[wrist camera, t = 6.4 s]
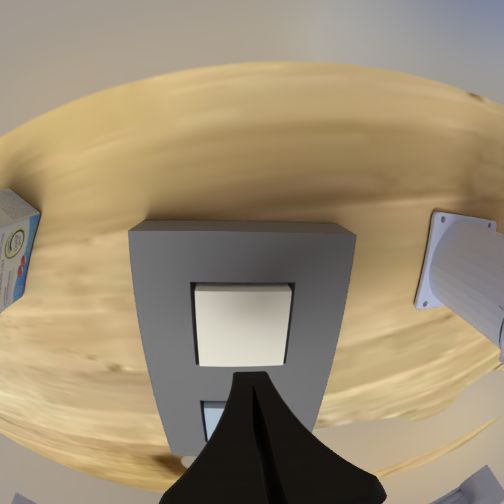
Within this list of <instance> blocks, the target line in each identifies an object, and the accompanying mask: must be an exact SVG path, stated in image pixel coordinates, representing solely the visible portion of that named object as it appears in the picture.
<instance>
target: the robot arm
mask: <svg viewBox="0 0 504 504" xmlns="http://www.w3.org/2000/svg"><path fill="white" fill-rule="evenodd" d="M441 218H442V221H441ZM496 228H497V223H496V221H493V220H488V219H482V218H476V217H470V216H464V215H458V214H451V213H444V212H434V214H433V215H432V221H431V227H430V234H429V240H428V246H427V251H426V256H425V261H424V266H423V271H422V275H421V279H420V284H419V288H418V292H417V296H416V299H415V303H414V306H415V308H417V309H418V310H420V309H428V308H435V307H442V306H447V307H448V308H449V309H451V310H452V311H453V312H455V313H456V314H457V315H459V316H460V317H461V318H463V319H464V320H465V321H466V322H468V323H469V324H470V325H471V326H473V327H474V328H475V329H476V330H478V331H479V332H480V333H481V334H483V335H484V336H485V337H486V338H488V339H489V340H490V341H491V342H492V343H494V344H495V345H496V346H497V347H498V348H500V349H501V354H500V357H499V361H500V362H502V363H503V364H504V234H502V233H499V232H496ZM424 302H425V303H424ZM423 303H424V304H423ZM386 497H387V495H386V493H385V490H384V488H383V486H382V485H381V483H380V482H379V480H378V478H377V477H376V476H374V475H372V474H370V473H368V472H366V471H364V470H362V469H360V468H358V467H356V466H355V465H353V464H351V463H350V462H347V461H346V460H345V459H343V458H342V457H340V456H339V455H337V454H336V453H335V452H333V451H332V450H330V449H329V448H328V447H327V446H325V445H324V444H323V443H322V442H321V441H319V440H318V439H317V438H316V437H315V436H314V435H313V434H312V433H311V432H310V431H309V430H308V429H307V428H306V427H305V426H304V425H303V424H302V423H301V422H300V421H299V419H298V418H297V417H296V416H295V415H294V414H293V412H292V411H291V410H290V408H289V407H288V406H287V404H286V403H285V402H284V400H283V399H282V397H281V396H280V394H279V393H278V391H277V389H276V388H275V386H274V384H273V383H272V381H271V379H270V377H269V375H268V373H267V372H266V371H252V372H235V373H233V380H232V386H231V390H230V394H229V397H228V400H227V403H226V405H225V408H224V411H223V413H222V415H221V417H220V420H219V422H218V424H217V426H216V428H215V430H214V432H213V433H212V435H211V437H210V439H209V440H208V442H207V444H206V445H205V447H204V448H203V450H202V451H201V453H200V454H199V455H198V457H197V458H196V460H195V461H194V462H193V463H192V465H191V466H190V467H189V468H188V469H187V471H186V472H185V473H184V474H183V475H182V476H181V477H180V478H179V480H177V481H176V482H175V483H174V484H173V485H172V486H171V487H170V488H169V489H168V490H167V491H166V492H165V493H164V494H163V496H162V498H161V500H160V502H159V504H382V503H383V502H384V501H385V499H386ZM503 501H504V490H503V488H502V487H501V485H500V483H499V482H498V480H497V479H496V477H495V476H494V474H493V473H492V471H491V470H490V468H489V467H488V465H485V466H484V467H483V468H481V469H480V470H479V471H477V472H476V473H474V474H473V475H472V476H470V477H469V478H468V479H466V480H465V481H464V482H463V483H462V484H461V485H460V486H459V487H458V488H456V489H455V490H453V491H451V492H449V493H448V494H446V495H444V496H443V497H441V498H439V499H437V500H435V501H434V502H432V503H430V504H501V503H502V502H503ZM12 504H36V503H35V502H33V501H31V500H29V499H27V498H25V497H24V496H22V495H20V494H18V493H16V494H15V496H14V499H13V502H12Z"/></svg>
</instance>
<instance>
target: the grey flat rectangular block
mask: <svg viewBox="0 0 504 504" xmlns="http://www.w3.org/2000/svg"><path fill="white" fill-rule="evenodd" d="M128 238H129V251H130V262H131V271H132V280H133V288H134V296H135V303H136V309H137V316H138V322H139V328H140V333H141V339H142V344H143V349H144V354H145V359H146V363H147V368H148V372H149V376H150V381H151V385H152V389H153V392H154V396H155V400H156V404H157V407H158V411H159V414H160V418H161V421H162V424H163V428H164V431H165V434H166V437H167V440H168V443H169V446H170V449H171V452H172V455H182V456H198V455H199V454H200V453H201V451H202V450H203V448H204V447H205V445H206V444H207V442H208V437H207V429H206V421H205V413H204V401H227V400H228V397H229V394H230V390H231V386H232V380H233V373H235V372H252V371H266V372H267V373H268V375H269V377H270V379H271V381H272V383H273V384H274V386H275V388H276V389H277V391H278V393H279V394H280V396H281V397H282V399H283V400H284V402H285V403H286V404H287V406H288V407H289V408H290V410H291V411H292V412H293V414H294V415H295V416H296V417H297V418H298V419H299V421H300V422H301V423H302V424H303V425H304V426H305V427H306V428H307V429H308V430H309V431H310V432H311V433H312V431H313V428H314V425H315V422H316V418H317V415H318V412H319V409H320V406H321V402H322V399H323V395H324V392H325V388H326V385H327V381H328V378H329V374H330V370H331V366H332V362H333V358H334V354H335V350H336V346H337V342H338V337H339V333H340V328H341V324H342V319H343V314H344V309H345V304H346V298H347V293H348V287H349V282H350V276H351V269H352V263H353V256H354V249H355V242H356V235H355V234H354V233H352V232H350V231H348V230H347V229H345V228H343V227H341V226H339V225H337V224H328V223H304V222H274V221H230V220H144V221H142V222H141V223H139V224H138V225H136V226H135V227H133V228H132V229H130V230H129V231H128ZM196 282H236V283H286V282H287V283H288V285H289V287H290V289H291V291H292V293H291V303H290V312H289V321H288V329H287V338H286V346H285V354H284V361H283V365H275V366H244V367H214V366H200V365H199V353H198V340H197V325H196V308H195V288H196Z"/></svg>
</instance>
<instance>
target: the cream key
mask: <svg viewBox="0 0 504 504" xmlns="http://www.w3.org/2000/svg"><path fill="white" fill-rule="evenodd" d="M291 293H292V291H291V289H290V287H289V285H288V283H287V282H286V283H236V282H197V284H196V288H195V308H196V325H197V340H198V353H199V365H200V366H214V367H244V366H275V365H283V361H284V354H285V346H286V338H287V329H288V321H289V312H290V303H291Z"/></svg>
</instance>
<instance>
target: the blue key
mask: <svg viewBox="0 0 504 504" xmlns="http://www.w3.org/2000/svg"><path fill="white" fill-rule="evenodd" d="M226 403H227V401H204V413H205V421H206V429H207V437H208V440H209V439H210V437H211V435H212V433H213V432H214V430H215V428H216V426H217V424H218V422H219V420H220V417H221V415H222V413H223V411H224V408H225V405H226Z"/></svg>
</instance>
